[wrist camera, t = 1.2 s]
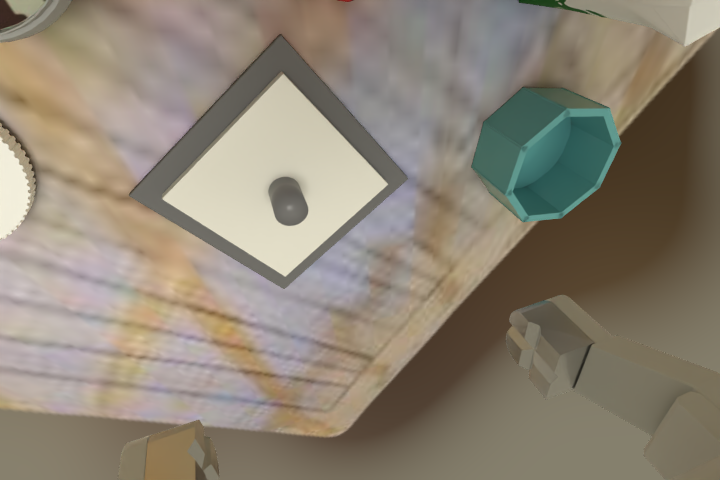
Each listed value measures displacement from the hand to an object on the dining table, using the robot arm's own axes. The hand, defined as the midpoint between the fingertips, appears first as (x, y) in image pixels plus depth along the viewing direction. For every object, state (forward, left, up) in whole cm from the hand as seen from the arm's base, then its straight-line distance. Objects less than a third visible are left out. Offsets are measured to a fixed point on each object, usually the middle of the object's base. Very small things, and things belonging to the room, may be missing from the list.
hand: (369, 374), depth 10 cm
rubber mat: (+6, +10, -32) cm, 35 cm away
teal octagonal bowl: (-17, +28, -32) cm, 46 cm away
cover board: (+6, +10, -32) cm, 34 cm away
